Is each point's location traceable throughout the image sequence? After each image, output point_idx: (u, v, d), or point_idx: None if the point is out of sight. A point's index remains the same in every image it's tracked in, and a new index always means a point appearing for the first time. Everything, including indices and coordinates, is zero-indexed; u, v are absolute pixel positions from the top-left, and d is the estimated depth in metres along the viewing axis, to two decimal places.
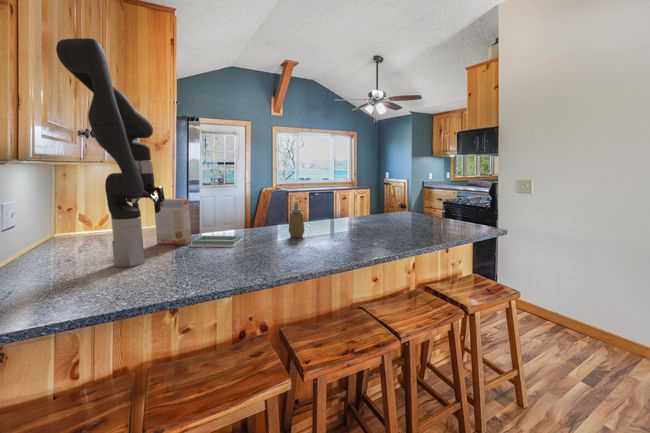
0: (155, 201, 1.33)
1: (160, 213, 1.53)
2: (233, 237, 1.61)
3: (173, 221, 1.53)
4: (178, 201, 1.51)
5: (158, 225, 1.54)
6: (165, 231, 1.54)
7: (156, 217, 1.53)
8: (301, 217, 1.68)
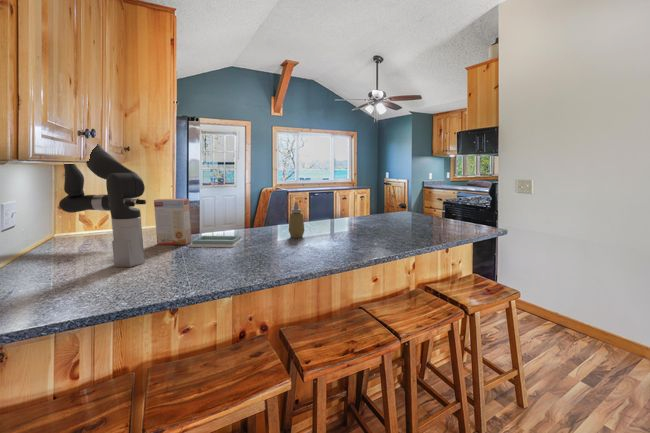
0: (135, 199, 1.60)
1: (160, 213, 1.53)
2: (233, 237, 1.61)
3: (173, 221, 1.53)
4: (178, 201, 1.51)
5: (158, 225, 1.54)
6: (165, 231, 1.54)
7: (156, 217, 1.53)
8: (301, 217, 1.68)
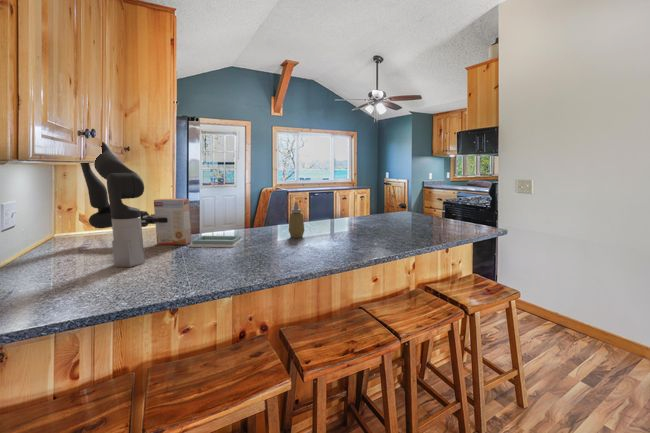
0: None
1: (160, 213, 1.53)
2: (233, 237, 1.61)
3: (173, 221, 1.53)
4: (178, 201, 1.51)
5: (158, 225, 1.54)
6: (165, 231, 1.54)
7: None
8: (301, 217, 1.68)
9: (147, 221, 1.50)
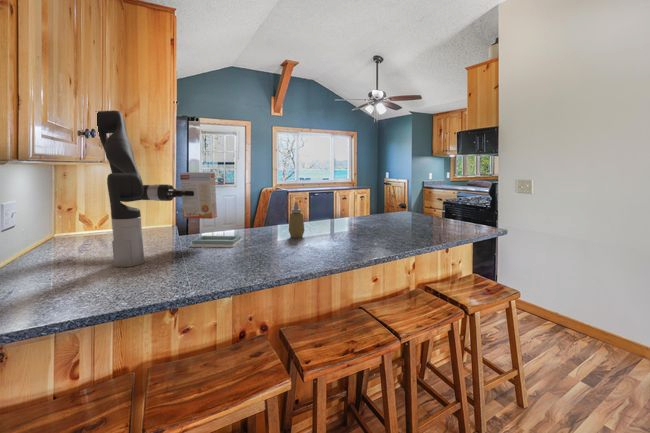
0: None
1: (186, 186, 1.51)
2: (233, 237, 1.61)
3: (199, 194, 1.51)
4: (205, 174, 1.49)
5: (184, 199, 1.52)
6: (191, 205, 1.52)
7: (182, 190, 1.51)
8: (301, 217, 1.68)
9: (174, 194, 1.48)
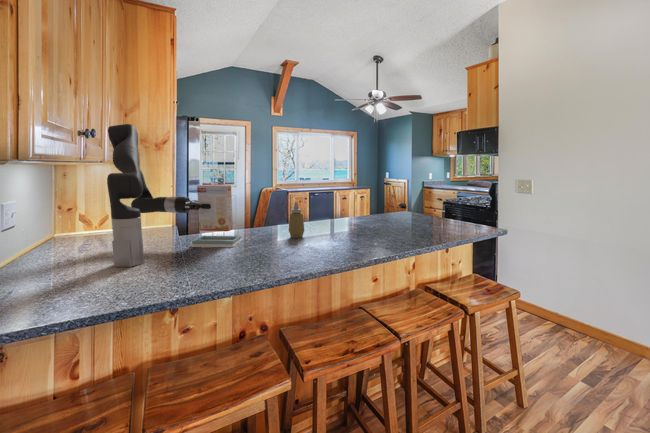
0: None
1: (203, 199, 1.52)
2: (233, 237, 1.61)
3: (216, 207, 1.52)
4: (222, 187, 1.50)
5: (200, 211, 1.53)
6: (208, 218, 1.53)
7: None
8: (301, 217, 1.68)
9: (191, 207, 1.49)
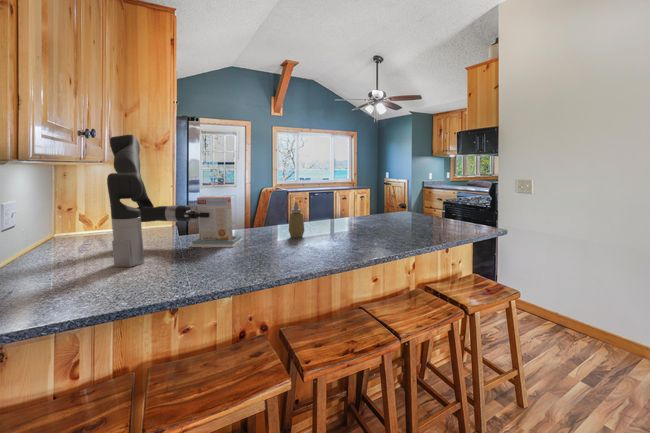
0: None
1: (203, 211, 1.52)
2: (233, 237, 1.61)
3: (216, 219, 1.52)
4: (222, 199, 1.51)
5: (200, 223, 1.53)
6: (208, 229, 1.53)
7: None
8: (301, 217, 1.68)
9: (190, 216, 1.49)
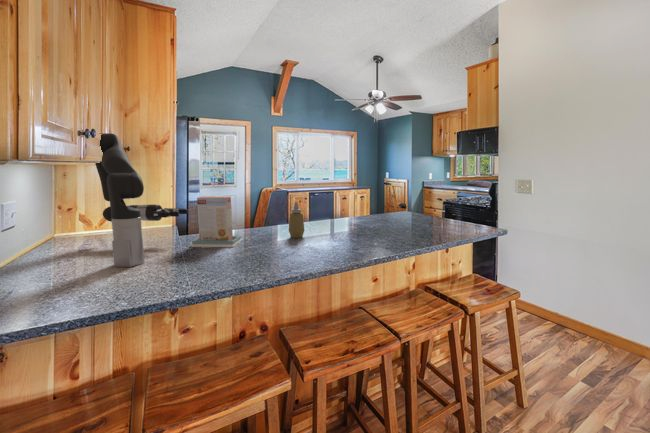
0: (177, 208, 1.60)
1: (203, 211, 1.52)
2: (233, 237, 1.61)
3: (216, 219, 1.52)
4: (222, 199, 1.51)
5: (200, 223, 1.53)
6: (208, 229, 1.53)
7: (199, 215, 1.53)
8: (301, 217, 1.68)
9: (159, 215, 1.49)
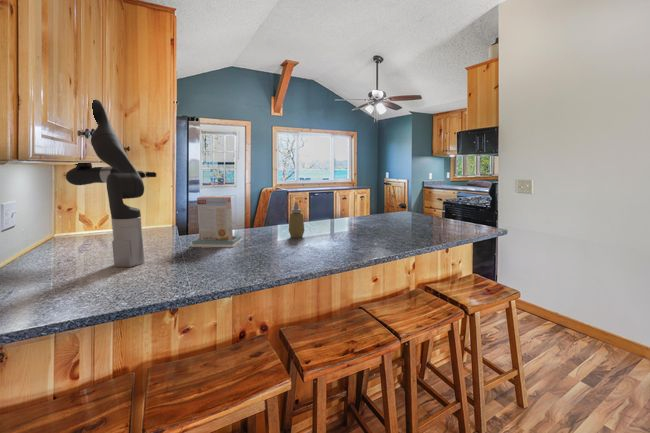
0: None
1: (203, 211, 1.52)
2: (233, 237, 1.61)
3: (216, 219, 1.52)
4: (222, 199, 1.51)
5: (200, 223, 1.53)
6: (208, 229, 1.53)
7: (199, 215, 1.53)
8: (301, 217, 1.68)
9: None
